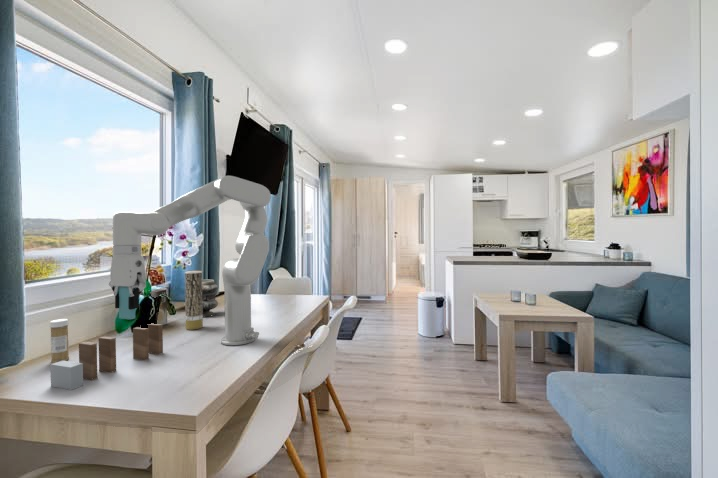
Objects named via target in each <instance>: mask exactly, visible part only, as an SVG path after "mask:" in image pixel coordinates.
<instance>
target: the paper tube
mask: <svg viewBox="0 0 718 478" xmlns="http://www.w3.org/2000/svg"><path fill="white" fill-rule="evenodd" d="M202 280H203V272H202V270H188V271H187V270H186V271H184V299H185V300H184V301H185V302H184V303H185V304H184V305H185V306H184V307H185V309H184V310H185V311H184V312H185V328H186V329H187V330H191V331H194V330H199V329H202V328H203V324H204V323H203V321H204V320H203V318H204V317H203V308H202Z"/></svg>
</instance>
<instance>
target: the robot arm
mask: <svg viewBox="0 0 718 478" xmlns="http://www.w3.org/2000/svg"><path fill="white" fill-rule="evenodd" d="M271 197H272V195H271V191H270V190H269V188H267V187H266V186H264V185H263V184H260V183H256V182H254V181H250V180H248V179H244V178H240V177H238V176H234V175H224V176H222V177H219V178H217V179H215V180H213V181H210V182H208V183H206V184H204V185H202V186H200V187H198V188H196V189H193V190H191V191H189V192H187V193H186V194H183V195H181V196H180V197H177V198H176V199H174V200H173V201H171V202H169V203H167V204H165V205H163V206H160V207H158V208H157V209H155V210H152V211H150V212H139V213H138V212H135V211H117V212H114V213H113V216H112V258H111V265H110V275H109V276H110V278H109V279H110V281H109V283H108V286H109V287H110V288H111V290H112V292H113V296H114V307H115V309H119V287H128V288H129V292H130V296H131V297H129V298H128V309H130V310H131V309H135V310H136V309H140V295H141V292H144V291H143V290H144V289H145V288H146V287H147V284H146V283H147V274H146V263H145V259H144V256H143V254H142V234H143V235H144V234H145V235H147V236H161V235H163V234H165V233H166V232H168V230H169V228H171V227H173V226H175V225H177V224H179V223H181V222H184V221H186V220H188V219H194V218H195V217H196V218H197V217H198V216H201V215H203V214H204V213H206V212H208V211H210V210H212V209H214V208H216V207H217V206H220V205H222V204H223V203H225V202H227V201H229V200H232V201H233V200H234V201H236V202H238V203H239V204H240V206H241V207H242V209H243V211H244V215H245V216H244V221H243V224H242V226H241V229H240V231H239V234H238V236H237V238H236V242H235V251H236V253H238V255H239V258H237V257H236V258H231V259H230V260H228V261H227V262H226V263H225V264H224V265H223V267H222V271H221V272H222V282H223V288H224V289H223V290H224V291H223V293H224V335H225V336H223V337H222V338H221V339H220V343H221V345H224V346H240V345H246V344H250V343H252V342H254V341H255V340H256V339H258V338H259V336H260V332H259V331H255V328H254V327H252V303H251V302H252V296H251V295H252V294H251V293H252V291H251V285H253V284H254V283H256V282H257V280H258V279H259V277H260V275H261V273H262V270H263V268H264V265H265V263H266V260H267V257H268V254H269V252H270V241H269V239H268V236H267V235H265V234H264V233H265V231H266V227H267V223H268V214H267V211H266V208H265V207H266V206H267V205H269V204H270V202H271ZM133 288H135V290H133Z"/></svg>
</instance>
